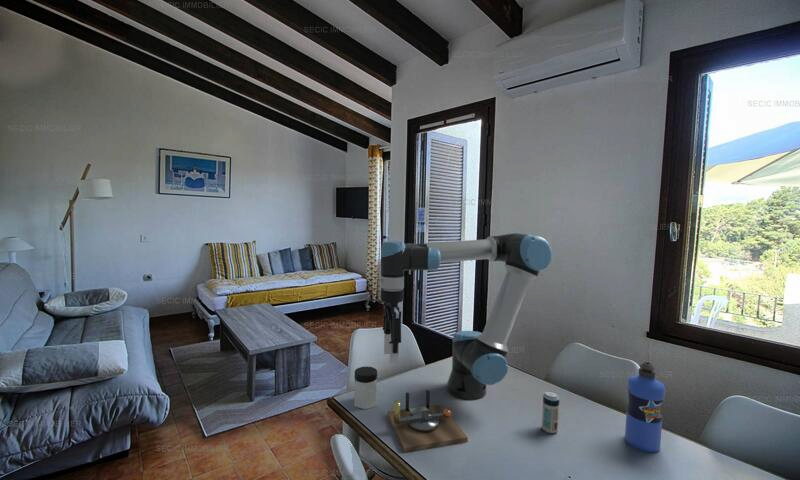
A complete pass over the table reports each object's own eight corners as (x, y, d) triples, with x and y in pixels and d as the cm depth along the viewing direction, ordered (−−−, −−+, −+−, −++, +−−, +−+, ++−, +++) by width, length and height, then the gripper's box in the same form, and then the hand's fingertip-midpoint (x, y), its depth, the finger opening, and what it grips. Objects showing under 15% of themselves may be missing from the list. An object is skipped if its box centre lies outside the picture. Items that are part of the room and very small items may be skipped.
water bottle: (618, 433, 117) (622, 356, 116) (647, 434, 117) (653, 357, 115) (635, 452, 108) (641, 369, 106) (668, 453, 108) (674, 370, 106)
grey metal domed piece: (444, 410, 126) (445, 388, 125) (457, 427, 116) (458, 402, 115) (389, 418, 120) (389, 395, 120) (397, 436, 111) (398, 411, 110)
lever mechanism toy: (441, 408, 131) (442, 387, 130) (467, 441, 112) (468, 418, 111) (387, 415, 125) (387, 394, 125) (404, 452, 106) (404, 427, 106)
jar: (359, 412, 127) (360, 378, 126) (349, 401, 134) (349, 369, 133) (382, 404, 132) (382, 372, 131) (371, 395, 139) (371, 364, 138)
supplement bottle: (557, 427, 120) (559, 391, 119) (558, 435, 116) (560, 398, 115) (541, 424, 122) (543, 389, 121) (541, 432, 117) (543, 396, 116)
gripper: (374, 283, 129) (373, 348, 130) (388, 296, 110) (387, 371, 111) (395, 282, 131) (394, 346, 132) (412, 294, 112) (411, 368, 113)
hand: (391, 357), depth 122 cm, fingers open, 7 cm apart
